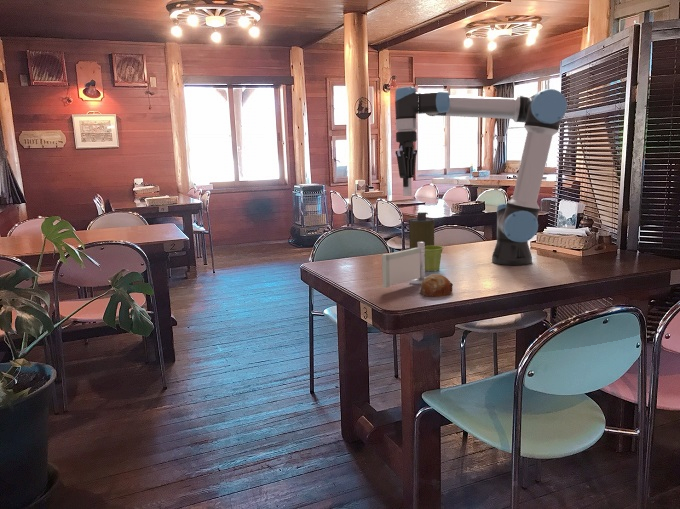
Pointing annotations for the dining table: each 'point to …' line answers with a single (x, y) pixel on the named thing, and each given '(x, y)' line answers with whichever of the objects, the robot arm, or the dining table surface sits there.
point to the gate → (400, 266)
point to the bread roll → (436, 286)
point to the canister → (421, 230)
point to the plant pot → (432, 257)
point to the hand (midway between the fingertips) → (407, 195)
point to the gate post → (422, 264)
